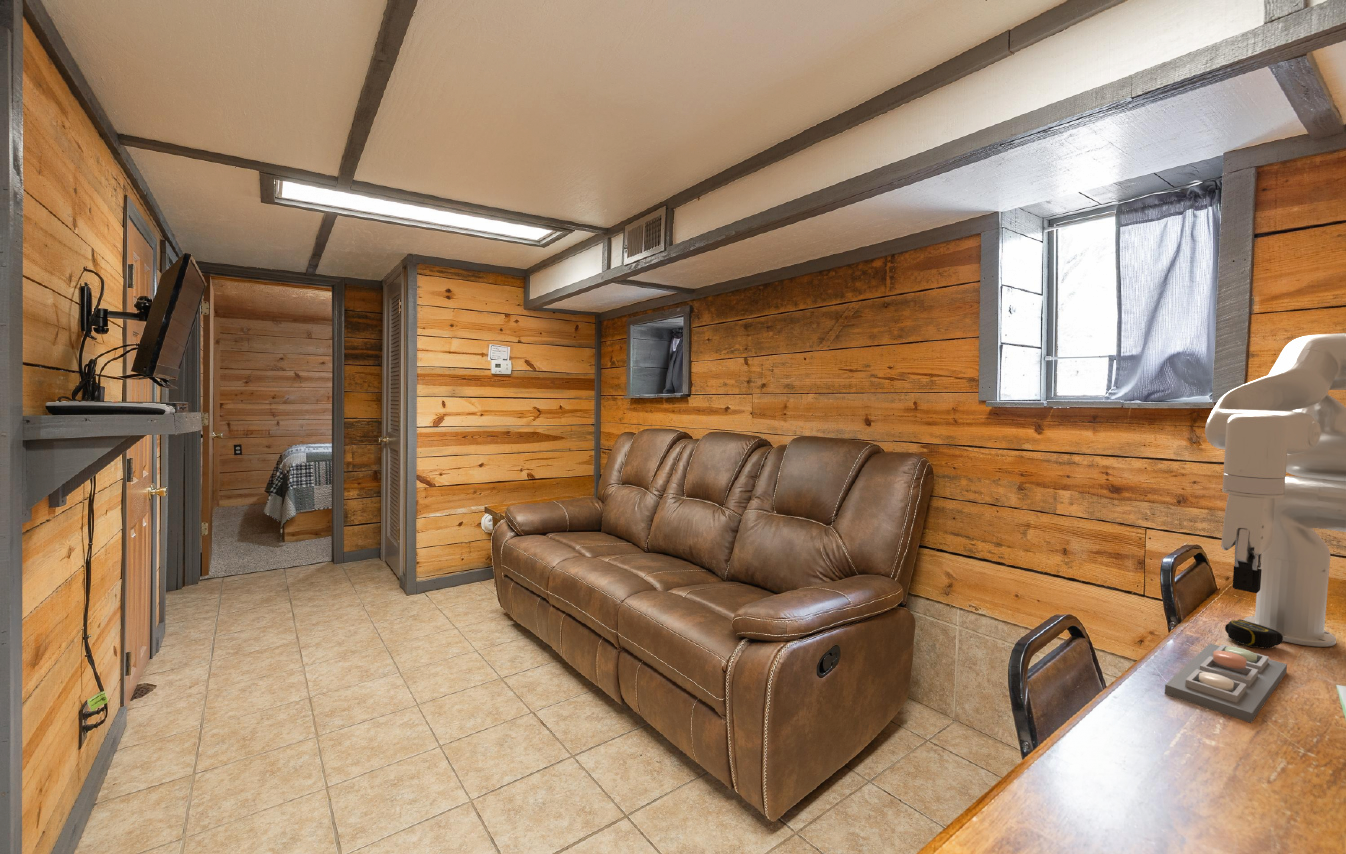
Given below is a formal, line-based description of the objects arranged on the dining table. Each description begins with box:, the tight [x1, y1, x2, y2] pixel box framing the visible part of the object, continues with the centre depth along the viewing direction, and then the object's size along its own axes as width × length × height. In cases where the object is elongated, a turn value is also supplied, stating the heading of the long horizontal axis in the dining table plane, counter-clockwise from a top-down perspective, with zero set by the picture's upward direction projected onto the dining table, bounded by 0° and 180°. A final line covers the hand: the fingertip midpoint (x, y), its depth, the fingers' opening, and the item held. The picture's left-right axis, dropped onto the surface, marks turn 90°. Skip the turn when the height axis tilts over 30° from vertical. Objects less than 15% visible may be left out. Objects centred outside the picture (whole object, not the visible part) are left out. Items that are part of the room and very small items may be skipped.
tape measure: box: [1224, 619, 1283, 649], centre depth 111 cm, size 7×7×4 cm
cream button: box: [1199, 672, 1234, 692], centre depth 92 cm, size 4×4×1 cm
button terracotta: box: [1213, 651, 1247, 669], centre depth 96 cm, size 4×4×1 cm
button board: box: [1164, 642, 1288, 724], centre depth 97 cm, size 26×10×3 cm, turn 125°
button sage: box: [1225, 646, 1257, 664], centre depth 101 cm, size 4×4×1 cm
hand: (1246, 589), depth 101 cm, fingers closed
